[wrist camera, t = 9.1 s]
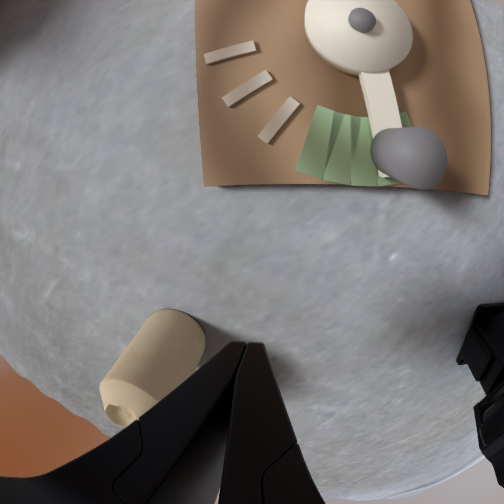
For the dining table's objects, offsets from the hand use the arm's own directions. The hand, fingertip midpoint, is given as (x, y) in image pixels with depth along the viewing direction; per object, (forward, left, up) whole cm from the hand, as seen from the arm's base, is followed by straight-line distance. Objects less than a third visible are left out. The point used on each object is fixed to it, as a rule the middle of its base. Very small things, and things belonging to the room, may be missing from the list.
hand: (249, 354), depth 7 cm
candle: (+9, +10, -13) cm, 19 cm away
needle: (-6, -9, -11) cm, 15 cm away
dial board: (-5, -12, -12) cm, 18 cm away
